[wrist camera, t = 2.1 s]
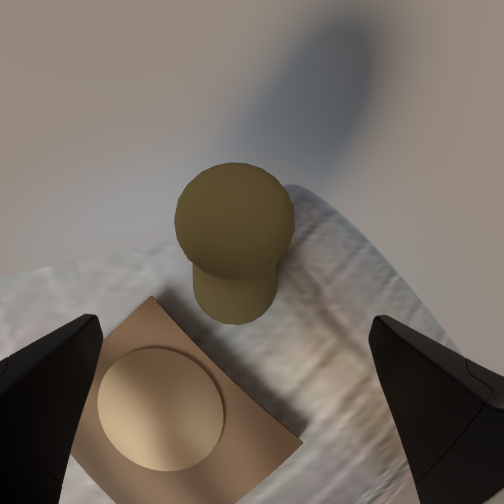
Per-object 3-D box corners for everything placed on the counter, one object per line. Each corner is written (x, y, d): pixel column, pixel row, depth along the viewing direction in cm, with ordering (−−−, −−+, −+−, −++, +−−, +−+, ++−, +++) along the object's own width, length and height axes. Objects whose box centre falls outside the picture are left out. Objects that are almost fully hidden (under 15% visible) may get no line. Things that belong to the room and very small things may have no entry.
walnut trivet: (172, 538, 13) (168, 548, 12) (47, 405, 17) (34, 406, 15) (298, 438, 17) (304, 443, 16) (156, 300, 21) (149, 294, 19)
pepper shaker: (176, 278, 21) (130, 193, 11) (239, 230, 23) (242, 123, 13) (230, 342, 20) (224, 308, 10) (293, 287, 22) (342, 207, 12)
